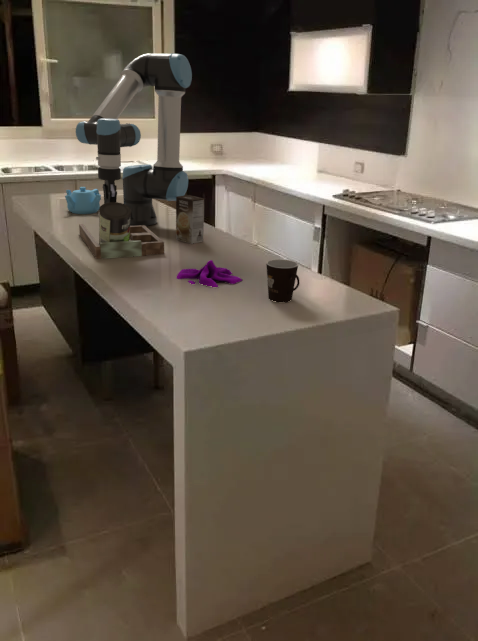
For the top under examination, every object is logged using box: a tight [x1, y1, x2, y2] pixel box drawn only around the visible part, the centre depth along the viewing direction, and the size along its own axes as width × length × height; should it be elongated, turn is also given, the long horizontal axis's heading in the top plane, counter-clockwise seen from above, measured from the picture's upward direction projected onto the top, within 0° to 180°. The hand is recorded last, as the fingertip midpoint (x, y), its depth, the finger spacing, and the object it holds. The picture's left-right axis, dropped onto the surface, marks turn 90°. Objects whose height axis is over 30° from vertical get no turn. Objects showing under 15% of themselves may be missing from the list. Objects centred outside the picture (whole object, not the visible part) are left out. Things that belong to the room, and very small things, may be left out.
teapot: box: [64, 186, 102, 215], centre depth 271 cm, size 15×15×11 cm
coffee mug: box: [265, 258, 300, 303], centre depth 167 cm, size 12×9×10 cm
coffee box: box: [175, 194, 205, 245], centre depth 227 cm, size 9×6×16 cm
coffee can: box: [98, 201, 131, 245], centre depth 207 cm, size 10×10×14 cm
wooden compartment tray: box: [78, 223, 165, 260], centre depth 220 cm, size 23×36×5 cm, turn 22°
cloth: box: [176, 259, 243, 288], centre depth 184 cm, size 22×19×6 cm
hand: (110, 236), depth 215 cm, fingers closed
